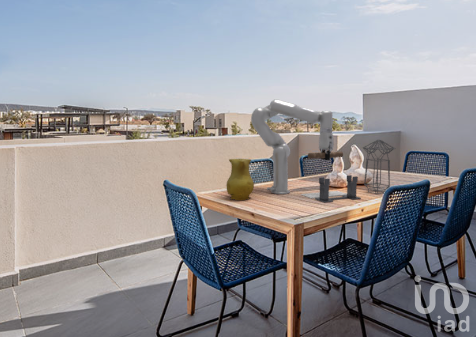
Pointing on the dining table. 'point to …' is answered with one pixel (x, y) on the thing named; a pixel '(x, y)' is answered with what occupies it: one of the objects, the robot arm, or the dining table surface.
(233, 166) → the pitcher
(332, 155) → the rod
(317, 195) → the mat
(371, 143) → the geometric lantern
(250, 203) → the dining table surface
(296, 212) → the dining table surface
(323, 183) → the rack
